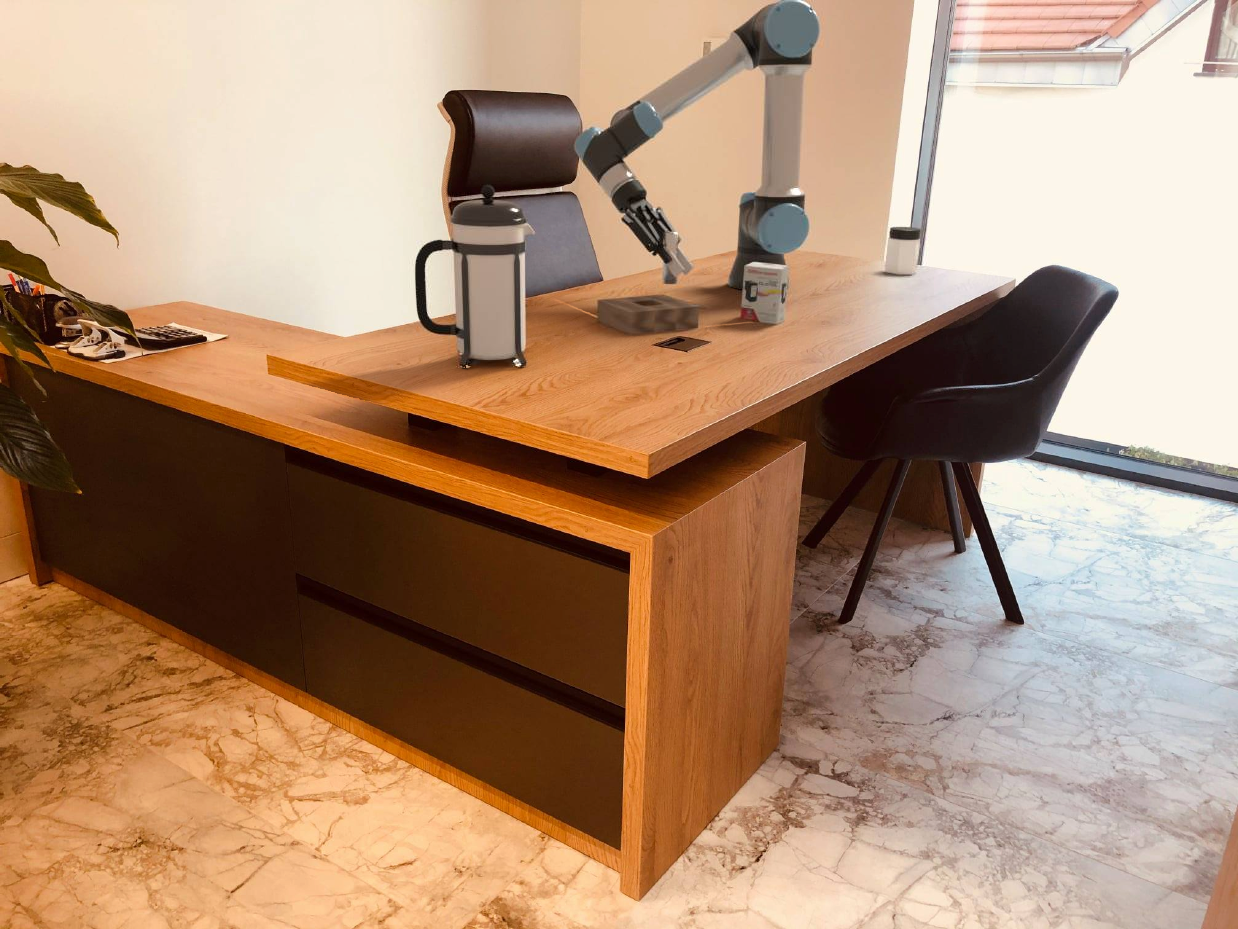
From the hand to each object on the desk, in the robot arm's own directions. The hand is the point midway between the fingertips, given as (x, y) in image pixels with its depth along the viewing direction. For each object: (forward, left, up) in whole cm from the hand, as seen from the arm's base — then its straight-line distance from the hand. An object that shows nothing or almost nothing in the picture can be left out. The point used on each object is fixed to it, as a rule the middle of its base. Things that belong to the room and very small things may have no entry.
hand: (684, 271), depth 221 cm
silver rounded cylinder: (+2, -4, -3) cm, 5 cm away
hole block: (+15, +10, -8) cm, 20 cm away
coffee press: (+57, +25, -9) cm, 63 cm away
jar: (-85, -21, -9) cm, 88 cm away
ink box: (-10, +16, -9) cm, 21 cm away
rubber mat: (+1, -3, -8) cm, 9 cm away
